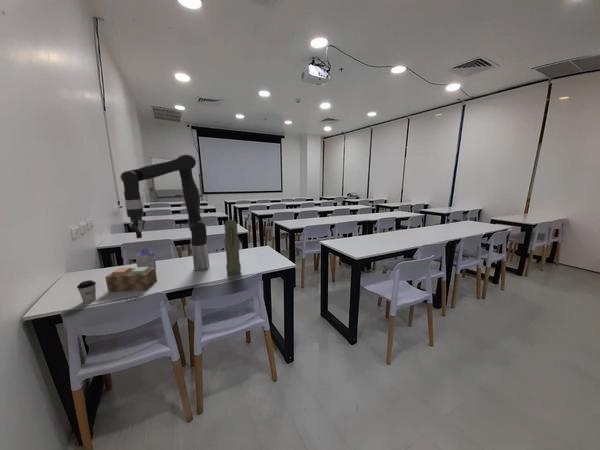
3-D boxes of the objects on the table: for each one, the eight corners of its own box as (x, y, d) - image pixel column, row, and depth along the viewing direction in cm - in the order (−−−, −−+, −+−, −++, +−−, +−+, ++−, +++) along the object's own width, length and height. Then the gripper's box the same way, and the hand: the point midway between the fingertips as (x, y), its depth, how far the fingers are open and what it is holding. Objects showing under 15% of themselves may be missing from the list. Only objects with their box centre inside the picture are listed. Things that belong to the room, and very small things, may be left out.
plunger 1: (133, 283, 133) (130, 267, 131) (126, 288, 127) (123, 271, 125) (122, 284, 132) (119, 267, 130) (115, 288, 126) (112, 272, 124)
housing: (157, 281, 136) (155, 267, 135) (147, 290, 126) (145, 274, 124) (121, 283, 134) (119, 268, 132) (108, 292, 123) (105, 276, 122)
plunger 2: (151, 282, 134) (149, 266, 132) (145, 287, 128) (143, 270, 126) (140, 283, 133) (138, 267, 131) (134, 287, 127) (131, 271, 125)
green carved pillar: (239, 269, 154) (236, 218, 147) (242, 275, 144) (238, 221, 137) (226, 271, 151) (222, 219, 144) (227, 278, 140) (223, 222, 134)
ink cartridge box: (156, 268, 157) (153, 248, 154) (155, 270, 152) (152, 250, 150) (139, 270, 153) (136, 250, 150) (137, 273, 148) (134, 252, 145)
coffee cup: (77, 302, 113) (73, 284, 111) (93, 296, 119) (90, 278, 117) (85, 305, 110) (81, 286, 108) (102, 298, 117) (98, 280, 115)
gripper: (134, 209, 120) (140, 240, 123) (147, 206, 133) (152, 234, 136) (119, 209, 119) (125, 241, 122) (134, 206, 132) (139, 235, 135)
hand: (139, 238), depth 129 cm, fingers closed
